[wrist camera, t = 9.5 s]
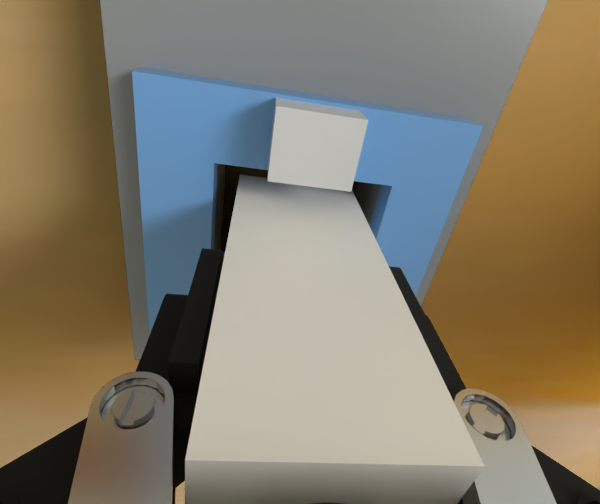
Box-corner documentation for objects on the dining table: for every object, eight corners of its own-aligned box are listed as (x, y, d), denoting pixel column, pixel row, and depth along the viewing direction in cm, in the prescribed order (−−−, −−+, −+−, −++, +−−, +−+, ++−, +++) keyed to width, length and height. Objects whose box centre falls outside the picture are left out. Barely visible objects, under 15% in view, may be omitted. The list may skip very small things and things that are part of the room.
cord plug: (351, 188, 14) (589, 684, 3) (329, 277, 16) (440, 756, 6) (239, 174, 13) (135, 717, 3) (232, 269, 15) (156, 783, 5)
